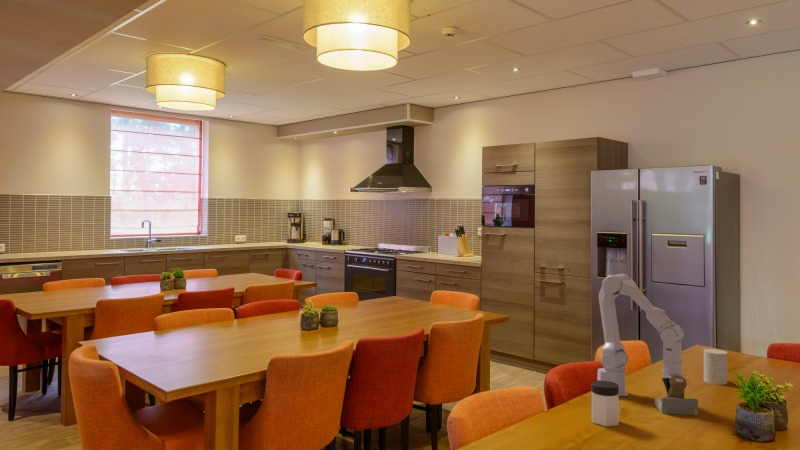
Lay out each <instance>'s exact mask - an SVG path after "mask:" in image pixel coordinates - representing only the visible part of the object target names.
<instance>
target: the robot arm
mask: <svg viewBox="0 0 800 450" xmlns="http://www.w3.org/2000/svg"><path fill="white" fill-rule="evenodd" d="M619 295H623V296H629V297H630V299H632V300H633V301H634V302H635V304H637V306H639V307H640V308H641V309H642V310H643V311H644V312H645V318H646V319H647V320H648V321H649V323H650V324H651V325H652V326H653V327H654V329H655V330H657V332H658V333H660V334H659V336H660V337H659V338H660V339H661V341H662V343H663V344H662V350H663V351H662V363H663V364H662V369H661V370H662V376H663V377H662V378H661V381H662V382H663V385H664V386H665V390H666V394H667V395H668V392H669V389H670V386H671V385H670V383H669V380H670V378H671V377H672V376H681V377H683V378H685V377H686V374H685V373H683V367H682V366H683V364H682V363H683V362H682V361H683V360H682V359H683V358H682V357H683V353H682V352H683V351H682V349H683V347H682V340H683V339H684V338H685V331H684V329H683V328H682V326H681V325H679V324H677V323H675V321H673V320H671V318H670V317H669V316H668V315H667V314H666V311H665V310H664V309H661V308H660V307H657V306H654V305H653V304H652V303H651V301H650V300H649V299H648V298H647V297H646V295H645V294H644V293H643V292H642V291H641V289H640V288H639V287H638V285H637V283H636V282H635V280H633V279H632V278H631V277H630V276H629V275H628V274H627V273H623V272H622V273H617V274H609V275H607V276H606V277H605V278H604V279H602V281H601V288H600V290H599V292H598V302H599V310H600V316H601V317H600V318H601V324H602V330H603V338H604V339H603V340H604V344H603V346H602V349H601V356H600V363H601V364H602V365H601V366H603V367H602V368H597V373H596V375H597V377H596V379H597V380H596V381H610V382H614V383H616V384H618V386H619V393H618V395H619V397H629V394H628V393H627V392H626V368H625V367H626V364H627V363H628V361H629V355H628V353H627V352H626V351H625V346H624V344H622V342H621V338H620V330H619V324H618V323H619V322H618V315H617V311H616V308H617V307H616V303H615V299H616V298H617V297H619ZM675 379H676V378H675ZM678 379H679V378H678ZM678 379H676V381H677V382H683V379H682V380H680V379H679V380H678ZM667 395H666V396H667Z"/></svg>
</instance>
